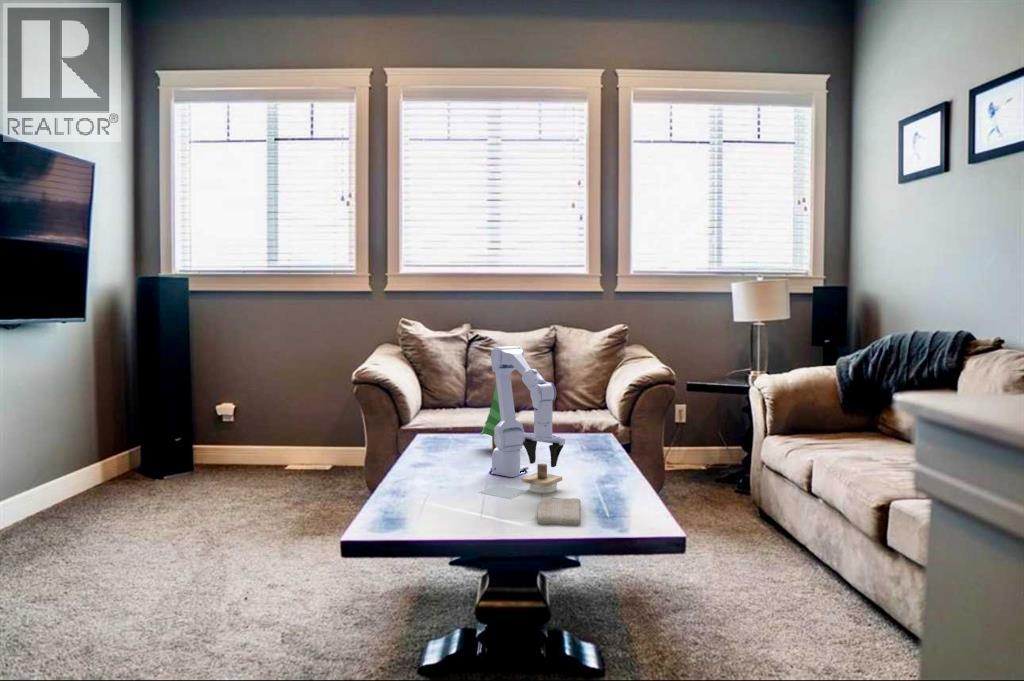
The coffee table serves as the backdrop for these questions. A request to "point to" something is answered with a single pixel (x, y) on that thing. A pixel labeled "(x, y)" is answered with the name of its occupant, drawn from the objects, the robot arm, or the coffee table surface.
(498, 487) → the mat
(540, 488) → the bowl
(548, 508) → the washcloth
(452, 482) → the coffee table surface
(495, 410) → the decorative tree
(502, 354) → the robot arm
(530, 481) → the lid
